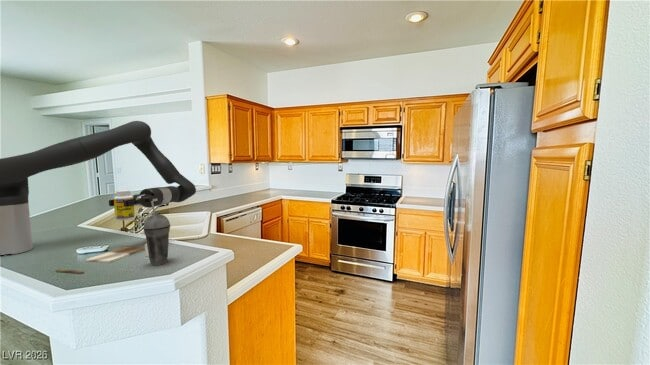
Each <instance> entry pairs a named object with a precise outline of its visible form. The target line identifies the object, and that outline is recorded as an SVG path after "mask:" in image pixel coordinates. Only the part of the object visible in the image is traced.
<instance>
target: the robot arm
mask: <svg viewBox="0 0 650 365" xmlns="http://www.w3.org/2000/svg"><path fill="white" fill-rule="evenodd" d="M129 144H132V145H133V146H134V147H135V148H137V149H138V151H139V152H140V153H141V154H143V156H145V158H146V159H147V160H148V161H149V163H150V164H151V165H152V167H154V169H155V170H156V172H157V174H159V175H160V176H161V178H162V179H163V181H165V183H166V184H168V185H169V186H158V187H157V186H156V187H149V188H145V189H142V190H141V191H140V192H139V193H137V194H136V193H135V194H131V195H132V196H133V199H130V200H125V201H124V206H125V207H128V206H134V207H135V206H137V207H139V206H143V207H144V208H152V203H151V201H153V203H154V208H155V207H159V206H163V205H166V204H169V203H182V202H184V201H187V200H188V199H189V198H191V197H193V196H194V195H195V194H196V192H197V188H196V186H195V184H194V183H193V182H192V181H190V180H189V179H188V178H187V177H185V176H184V175H182V174H181V173H180V171H179V170H178V169H177V167H176V166H175V165H174V164H173V163H172V161H171V160H170V159H169V158H168V157H167V156H165V155H164V153H162V151H161V150H160V149H159V148H158V146H157V145H156V143H155V142H154V140H153V138H152V129H151V127H150V125H149V124H148V123H146V122H144V121H141V120H133V121H130V122H127V123H124V124H121V125H119V126H116V127H114V128H111V129H107V130H103V131H99V132H94V133H91V134H87V135H83V136H79V137H74V138H72V139H68V140H64V141H61V142H57V143H55V144H52V145H49V146H45V147H44V148H41V149H38V150H35V151H33V152H28V153H23V154H18V155H13V156H10V157H9V156H8V157H2V158H0V255H3V254H12V255H17V254H21V253H25V252H26V253H27V252H28V251H29V252H30V251H31V250H32V249H33V248H34V247H33V238H32V237H33V236H32V227H31V226H32V225H31V224H32V223H31V215H30V205H29V194H30V191H29V178H30V177H32V176H34V175H35V176H36V175H37V174H41V173H43V172H46V171H51V170H55V169H60V168H65V167H69V166H70V167H71V166H74V165H78V164H81V163H85V162H87V161H91V160H93V159H96V158H99V157H101V156H102V155H104V154H106V153H108V152H110V151H111V150H114V149H115V148H117V147H118V148H119V147H121V146H124V145H129ZM174 183H175V184H177V185H178V186H174V185H171V184H174ZM170 185H171V186H170ZM108 206H109V207H114V198H113V199H109V200H108Z"/></svg>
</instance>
